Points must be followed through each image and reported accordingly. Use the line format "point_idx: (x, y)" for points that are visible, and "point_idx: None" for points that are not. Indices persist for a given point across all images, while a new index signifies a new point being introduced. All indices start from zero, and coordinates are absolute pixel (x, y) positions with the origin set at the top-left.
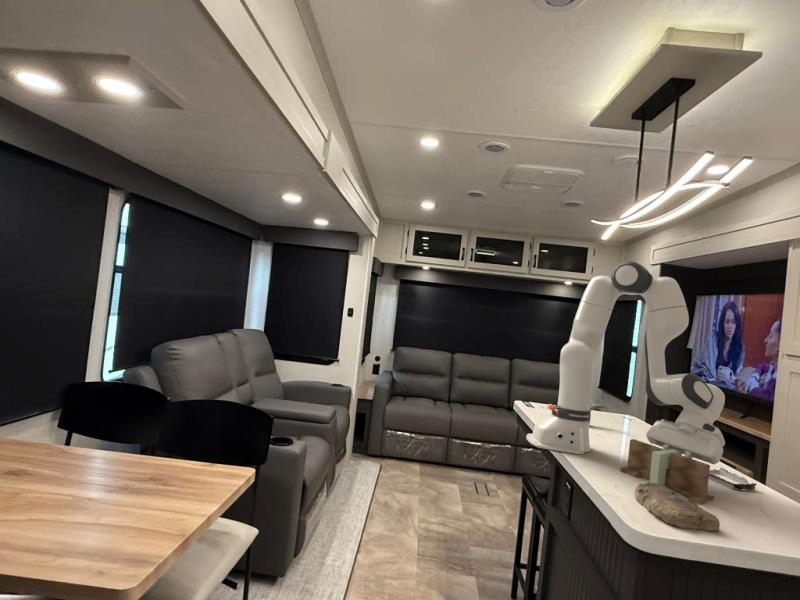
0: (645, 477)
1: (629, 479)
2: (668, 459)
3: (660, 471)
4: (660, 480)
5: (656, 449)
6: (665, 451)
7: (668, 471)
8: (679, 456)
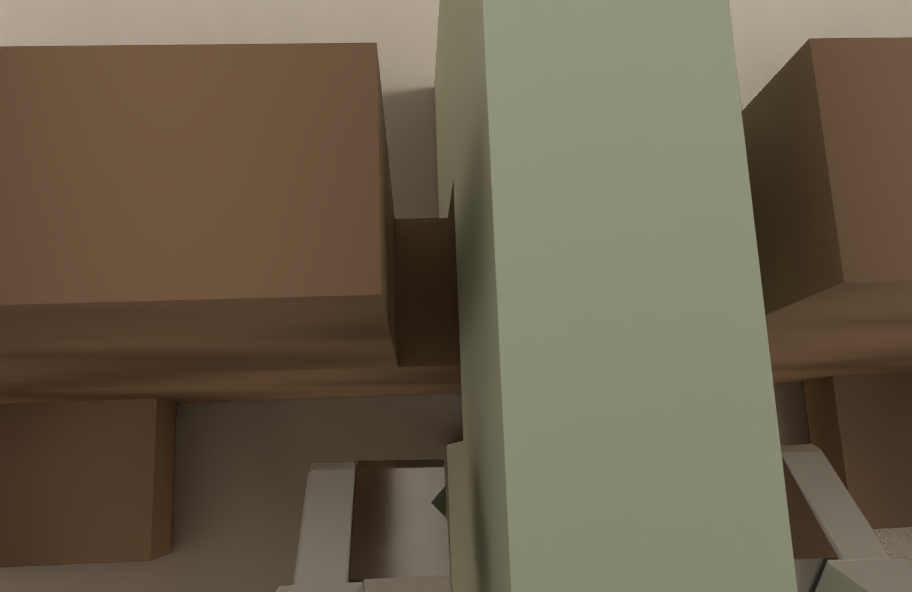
0: None
1: (733, 7)
2: (467, 150)
3: (446, 13)
4: (441, 113)
5: (869, 45)
6: (629, 104)
7: (423, 223)
8: (135, 67)
